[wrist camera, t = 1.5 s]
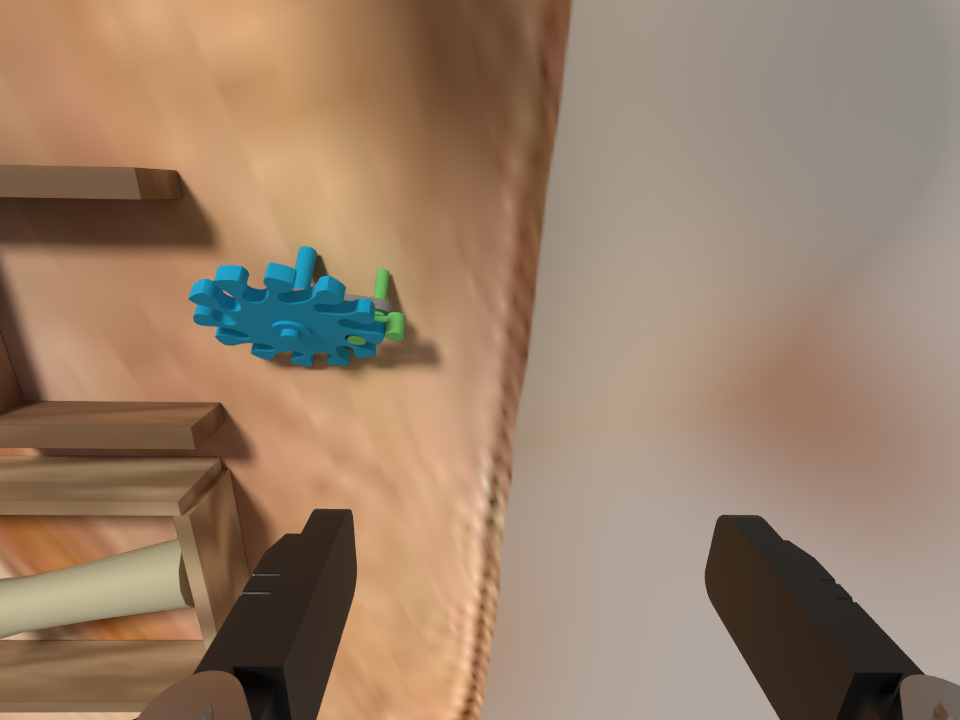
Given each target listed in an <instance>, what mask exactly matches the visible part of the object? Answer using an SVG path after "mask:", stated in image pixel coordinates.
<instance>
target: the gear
mask: <svg viewBox="0 0 960 720" xmlns="http://www.w3.org/2000/svg"><path fill="white" fill-rule="evenodd" d="M316 256H317V252H316V251H315V250H314V249H313V248H311V247H306V246H304V247H301V248H300V249H299V252H298V257H297V261H296V266H295V269H293V268H291V267H288V266H285V265H281V264H276V263H269V264H268V265H267V269H266V273H265V277H264V284H265V285H266V287H267V288H266V289H263V290H259V289H254V288H251V287H250V286H248V285H247V281H248V277H249V273H248V271H247V270H246V269H245V268H244V267H242V266H235V265H225V266H218V270H217V273H216V276H215V280H214V281H212V280H209V279H202V280H199V281H197V282H196V283H195V284H193V286H192V289H191V292H190V295H189V298H188V299H189V300H190V301H192V302H194V303H196V304H197V307H196V310H195V314H194V317H193V318H194V322H195V323H196V324H199V325H203V326H216V327H218V328H217V331H216V335H215V337H216V338H217V339H218V340H219V341H220V342H221V343H223V344H224V345H230V346H234V345H238V344H242V343H253V345H252V350H251V354H253V355H255V356H257V357H259V358H262V359H265V360H270V359H273V358H274V356H275V355H276V354H278V353H281V352H287V351H293V353H292V358H291V363H293V364H296V365H301V366H307V367H310V366H312V365H313V359H314V354H315V353H316V352H326V353H328V359H327V362H328V363H329V364H330V365H348V364H349V357H350V351H349V350H348V349H346V348H345V347H343V346H347V347H350V348H352V349H353V353H354V355H355V356H356V357H359V358H368V357H371V356H374V355H375V354H376V345H377V344H379V343H381V342H382V341H383V339H384V337H386V338H387V339H389V340H392V341H400V340H403V339H404V331H405V320H406V316H405V315H404V314H402V313H399V312H393V305H392V303H391V302H389V301H387V300H386V298H387V289H388V280H389V271H387V270H386V269H379V270H377V276H376V284H375V292H374V298H373V297H365V296H357V295H349V294H345V288H346V287H345V286H344V285H343V284H342V283H341V282H339V281H338V280H336V279H334V278H333V277H331V276H323V277H321V278H320V279H319V280H318V282H317V283H316V284H315V285H314V286H313V287H311V282H312V277H313V272H314V266H315V261H316ZM222 290H224V291H226V292H227V293H229V294H230V295H232V296H233V297H230V296H228V295H226V294H225V293H224V292H223V291H222ZM385 330H386V334H385Z"/></svg>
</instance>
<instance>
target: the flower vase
mask: <svg viewBox="0 0 960 720" xmlns="http://www.w3.org/2000/svg"><path fill="white" fill-rule="evenodd" d="M194 606H195V604H194V600H193V596H192V592H191V588H190V584H189V580H188V576H187V572H186V568H185V564H184V560H183V556H182V552H181V548H180V544H179V540H178V539H174V540H170V541H167V542H163V543H159V544H155V545H151V546H148V547H144V548H140V549H136V550H133V551H129V552H125V553H121V554H118V555H114V556H110V557H106V558H103V559H99V560H95V561H91V562H87V563H84V564H80V565H76V566H72V567H69V568H65V569H60V570H55V571H50V572H46V573H41V574H36V575H31V576H23V577H14V578H5V579H0V639H2V638H5V637H9V636H12V635H15V634H19V633H22V632H27V631H33V630H39V629H45V628H50V627H56V626H62V625H68V624H73V623H79V622H85V621H91V620H98V619H105V618H111V617H119V616H127V615H135V614H143V613H152V612H160V611H169V610H178V609H187V608H193V607H194Z"/></svg>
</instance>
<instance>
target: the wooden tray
mask: <svg viewBox="0 0 960 720" xmlns="http://www.w3.org/2000/svg"><path fill="white" fill-rule="evenodd" d="M0 515H138V516H173V520H174V524H175V528H176V532H177V536H178V540H179V544H180V548H181V552H182V556H183V560H184V564H185V568H186V572H187V576H188V580H189V584H190V588H191V592H192V596H193V600H194V604H195V608H196V612H197V616H198V620H199V624H200V628H201V632H202V636H203V640H0V712H142V711H143V710H144V709H145V708H146V707H147V705H148V704H149V703H150V702H151V701H152V700H153V699H154V698H155V697H157V696H158V695H159V694H160V693H161V692H162V691H164V690H165V689H167V688H168V687H170V686H171V685H172V684H174V683H176V682H178V681H180V680H181V679H184V678H186V677H188V676H190V675H192V674H193V673H194V671H195V670H196V668H197V667H198V665H199V663H200V662H201V660H202V658H203V657H204V655H205V653H206V652H207V650H208V648H209V646H210V645H211V643H212V641H213V640H214V638H215V636H216V635H217V633H218V631H219V630H220V628H221V626H222V624H223V623H224V621H225V619H226V618H227V616H228V614H229V613H230V611H231V609H232V608H233V606H234V604H235V602H236V601H237V599H238V597H239V596H241V595H242V591H243V589H244V587H245V586H246V584H247V582H248V580H249V579H250V574H249V569H248V564H247V559H246V553H245V548H244V543H243V538H242V533H241V527H240V522H239V517H238V512H237V507H236V501H235V496H234V491H233V486H232V480H231V475H230V470H222V465H221V460H220V458H213V457H81V456H0Z"/></svg>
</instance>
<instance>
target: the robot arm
mask: <svg viewBox="0 0 960 720" xmlns="http://www.w3.org/2000/svg"><path fill="white" fill-rule="evenodd" d="M356 578H357V561H356V549H355V536H354V523H353V514H352V511H351V510H350V509H315V510H314V511H313V512H312V514H311V515H310V517H309V519H308V521H307V523H306V525H305V527H304V529H303V531H302V533H301V534H285V535H284V536H283V537H282V538H281V539H280V540H278V541H277V542H276V543H275V544H274V545H273V546H271V547H270V548H269V549H268V550H267V551H266V552H265V553H264V555H263V557H262V559H261V560H260V562H259V564H258V565H257V567H256V569H255V570H254V572H253V577H250V579H249V580H248V582H247V584H246V586H245V587H244V589H243V591H242V595H241V596H239V597H238V599H237V601H236V602H235V604H234V606H233V608H232V609H231V611H230V613H229V614H228V616H227V618H226V619H225V621H224V623H223V624H222V626H221V628H220V630H219V631H218V633H217V635H216V636H215V638H214V640H213V641H212V643H211V645H210V646H209V648H208V650H207V652H206V653H205V655H204V657H203V658H202V660H201V662H200V663H199V665H198V667H197V668H196V670H195V671H194V673H193V674H192V675H190V676H188V677H186V678H184V679H181V680H180V681H178V682H176V683H174V684H172V685H171V686H170V687H168V688H167V689H165V690H164V691H162V692H161V693H160V694H159V695H158V696H157V697H155V698H154V699H153V700H152V701H151V702H150V703H149V704H148V705H147V707H146V708H145V709H144V710H143V711H142V713H141V714H140V715H139V717H138V718H136V719H134V720H316V719H317V716H318V712H319V709H320V706H321V702H322V699H323V696H324V693H325V689H326V686H327V683H328V679H329V676H330V673H331V669H332V666H333V663H334V660H335V656H336V653H337V650H338V646H339V643H340V640H341V636H342V633H343V630H344V627H345V623H346V620H347V617H348V613H349V610H350V607H351V603H352V600H353V597H354V592H355V586H356ZM705 584H706V589H707V593H708V596H709V599H710V600H711V603H712V605H713V606H714V608H715V610H716V611H717V613H718V615H719V617H720V618H721V620H722V622H723V623H724V625H725V627H726V629H727V630H728V632H729V633H730V635H731V637H732V639H733V640H734V642H735V644H736V645H737V647H738V649H739V651H740V652H741V654H742V656H743V657H744V659H745V661H746V662H747V664H748V666H749V668H750V669H751V671H752V673H753V674H754V676H755V678H756V680H757V681H758V683H759V685H760V686H761V688H762V690H763V692H764V693H765V695H766V697H767V698H768V700H769V702H770V703H771V705H772V707H773V709H774V710H775V711H776V714H777V715H778V717H779V719H780V720H960V686H959V685H956V684H954V683H952V682H949V681H947V680H944V679H941V678H937V677H934V676H929V675H925V674H924V673H923V672H922V671H921V670H920V669H919V668H918V667H917V666H916V665H915V663H914V662H913V661H912V660H911V659H910V658H909V657H908V656H907V655H906V654H905V653H904V652H903V651H902V650H901V649H900V648H899V647H898V645H897V644H895V642H894V641H893V640H892V639H891V638H890V637H889V636H888V635H887V634H886V633H885V632H884V631H883V630H882V629H881V628H880V627H879V625H878V624H877V623H875V621H874V620H873V619H872V618H871V617H870V616H869V615H868V614H867V613H866V612H865V611H864V610H863V609H862V608H861V607H860V605H859V604H858V603H856V602H853V600H852V597H851V596H850V595H849V594H848V593H847V592H846V591H845V590H844V589H843V587H841V585H839V584H836V583H835V579H834V578H833V577H832V576H831V575H830V574H829V573H828V572H827V571H826V570H825V569H824V567H823V566H822V565H821V564H820V563H819V562H818V561H817V560H816V559H815V558H814V557H812V556H811V555H809V554H808V553H806V552H805V551H803V550H802V549H800V548H799V547H797V546H796V545H794V544H793V543H791V542H790V541H787V540H783V539H782V538H781V537H780V536H779V535H778V534H777V533H776V532H775V531H774V529H773V528H772V527H771V526H770V525H769V524H768V523H767V522H766V521H765V520H764V519H763V518H762V517H761V516H758V515H721V516H720V517H719V518H718V520H717V522H716V525H715V530H714V534H713V538H712V543H711V547H710V551H709V556H708V560H707V565H706V569H705Z"/></svg>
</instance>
